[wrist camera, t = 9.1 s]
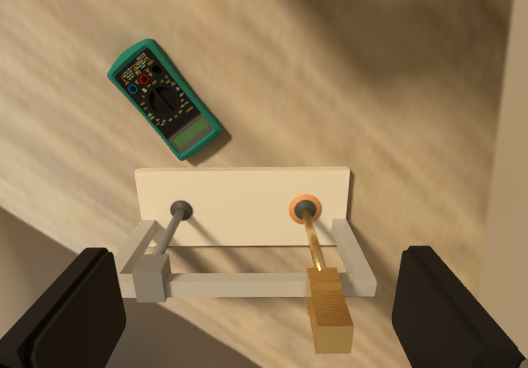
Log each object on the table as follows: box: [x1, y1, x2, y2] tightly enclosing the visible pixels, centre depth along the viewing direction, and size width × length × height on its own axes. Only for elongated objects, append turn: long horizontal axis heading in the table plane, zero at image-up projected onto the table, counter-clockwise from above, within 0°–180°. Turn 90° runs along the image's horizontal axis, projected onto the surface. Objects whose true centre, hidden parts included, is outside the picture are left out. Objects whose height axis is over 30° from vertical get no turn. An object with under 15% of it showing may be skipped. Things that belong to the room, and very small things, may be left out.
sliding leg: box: [302, 208, 354, 353], centre depth 38 cm, size 4×3×22 cm
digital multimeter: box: [107, 39, 222, 161], centre depth 43 cm, size 7×15×3 cm, turn 37°
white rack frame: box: [114, 167, 377, 302], centre depth 42 cm, size 12×30×17 cm, turn 90°
